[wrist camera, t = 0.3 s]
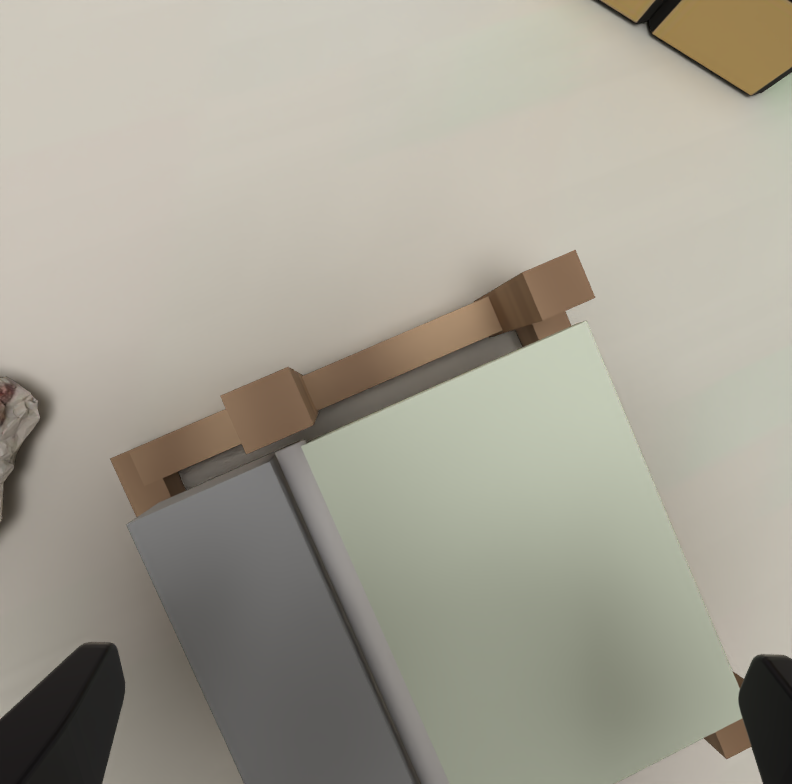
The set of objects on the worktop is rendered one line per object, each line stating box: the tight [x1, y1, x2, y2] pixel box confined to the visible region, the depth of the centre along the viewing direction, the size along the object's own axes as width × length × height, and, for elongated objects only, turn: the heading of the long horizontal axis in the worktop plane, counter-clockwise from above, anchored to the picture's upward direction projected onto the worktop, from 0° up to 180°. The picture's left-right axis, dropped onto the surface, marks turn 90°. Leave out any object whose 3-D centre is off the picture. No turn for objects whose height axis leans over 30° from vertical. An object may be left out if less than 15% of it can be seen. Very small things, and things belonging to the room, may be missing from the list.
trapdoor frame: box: [110, 250, 751, 759], centre depth 20 cm, size 15×15×9 cm
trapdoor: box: [126, 321, 742, 784], centre depth 18 cm, size 12×11×3 cm
